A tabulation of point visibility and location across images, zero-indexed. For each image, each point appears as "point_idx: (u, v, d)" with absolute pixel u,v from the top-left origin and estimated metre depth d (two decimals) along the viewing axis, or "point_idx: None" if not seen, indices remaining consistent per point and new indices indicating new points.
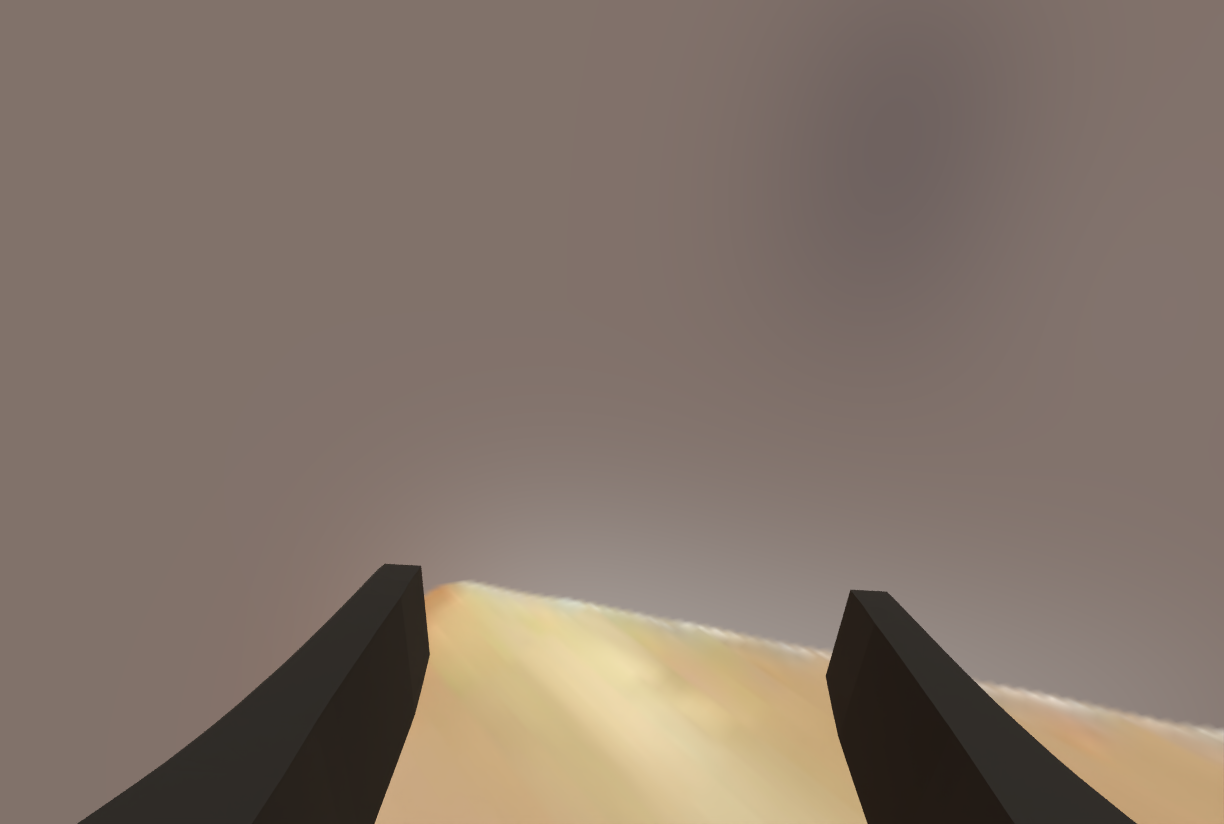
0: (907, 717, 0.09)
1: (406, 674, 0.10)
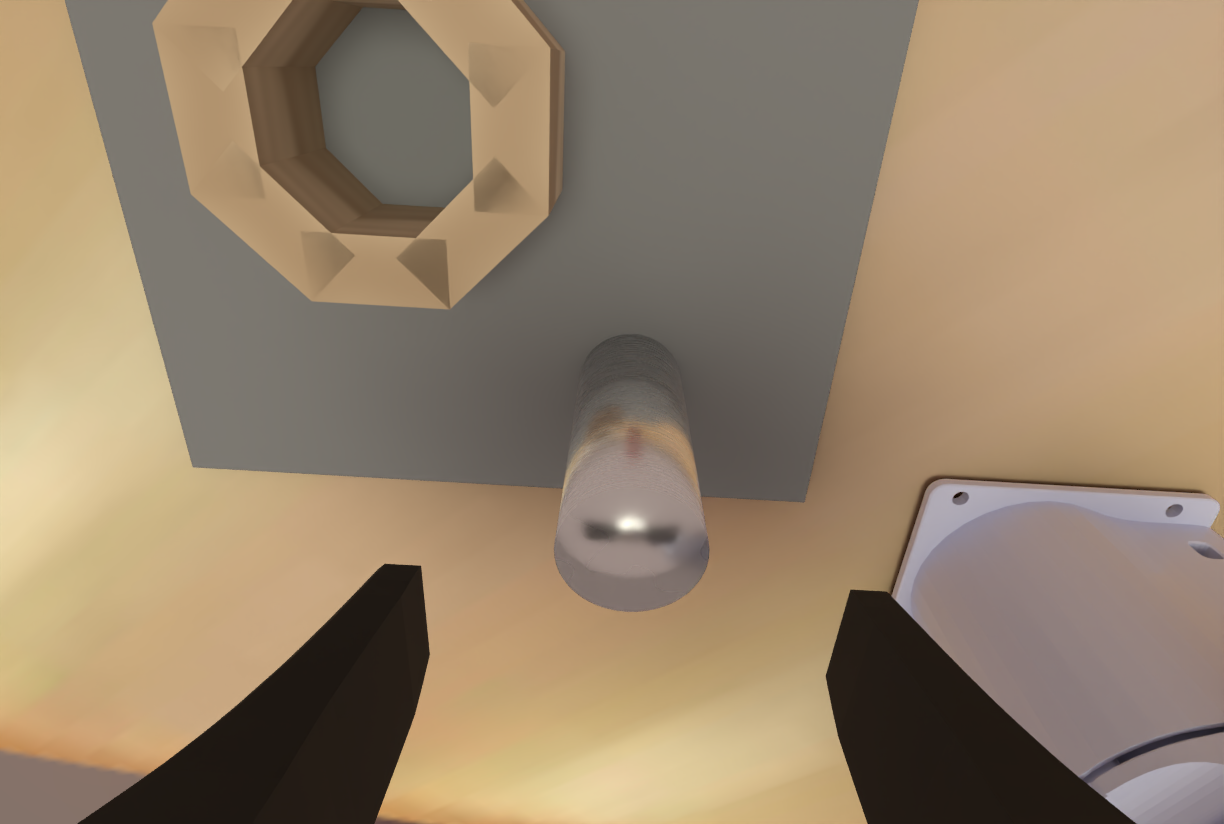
0: (907, 717, 0.09)
1: (406, 674, 0.10)
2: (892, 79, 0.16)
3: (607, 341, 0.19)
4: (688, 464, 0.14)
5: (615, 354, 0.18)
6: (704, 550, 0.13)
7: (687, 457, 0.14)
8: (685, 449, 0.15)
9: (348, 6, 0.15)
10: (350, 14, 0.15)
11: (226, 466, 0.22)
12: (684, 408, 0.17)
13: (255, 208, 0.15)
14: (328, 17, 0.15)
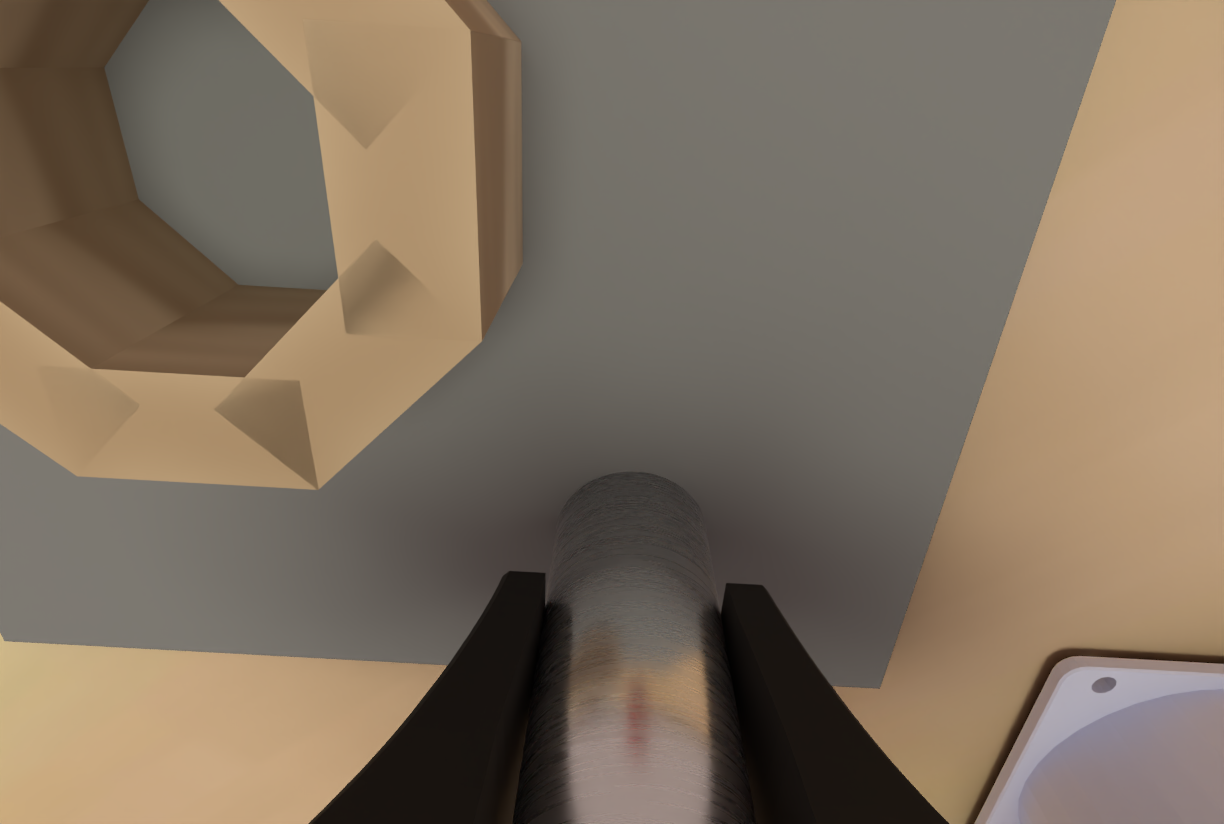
0: (756, 709, 0.09)
1: None
2: (1072, 88, 0.10)
3: (597, 484, 0.13)
4: (741, 809, 0.08)
5: (608, 517, 0.12)
6: None
7: (737, 785, 0.08)
8: (732, 761, 0.08)
9: None
10: None
11: (54, 638, 0.15)
12: (719, 622, 0.11)
13: None
14: None
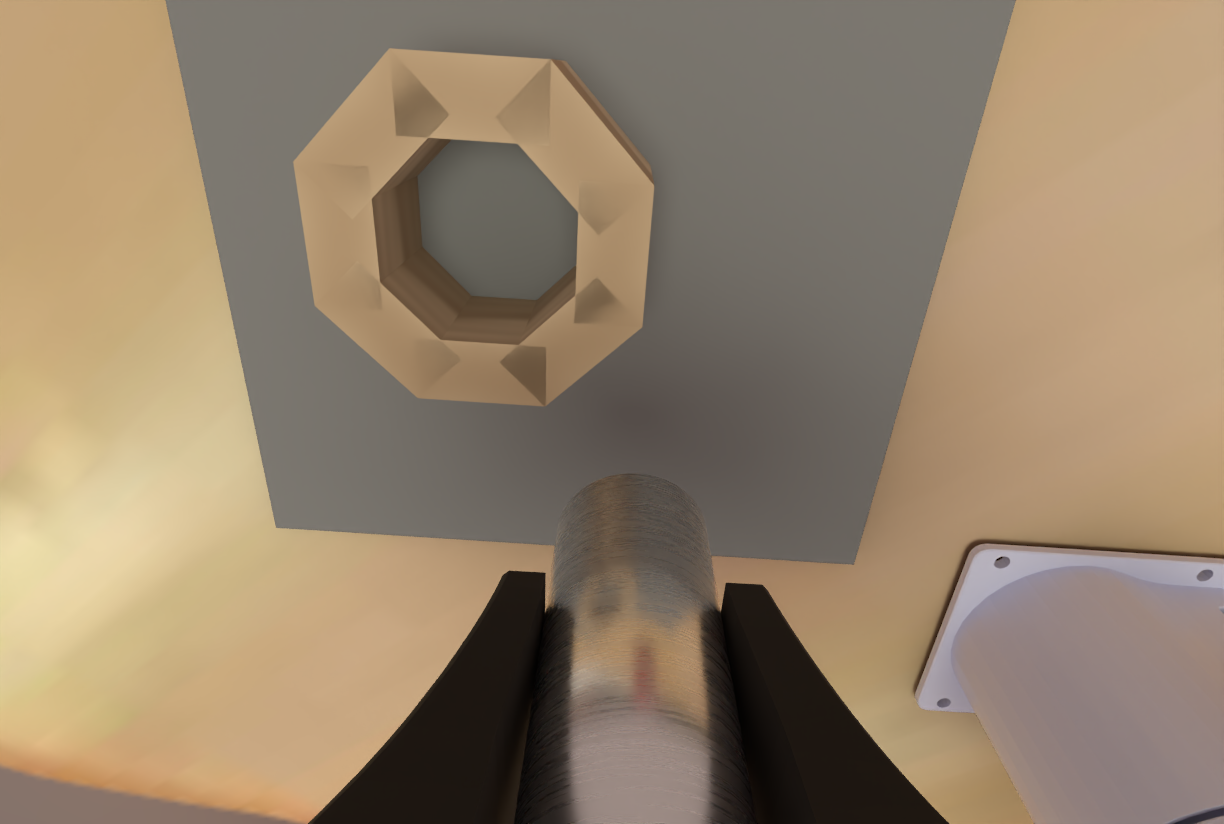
0: (755, 709, 0.09)
1: None
2: (953, 191, 0.17)
3: (597, 486, 0.13)
4: (741, 811, 0.08)
5: (608, 519, 0.12)
6: None
7: (737, 787, 0.08)
8: (732, 762, 0.08)
9: None
10: None
11: (307, 527, 0.23)
12: (720, 623, 0.11)
13: (373, 318, 0.16)
14: (440, 142, 0.16)
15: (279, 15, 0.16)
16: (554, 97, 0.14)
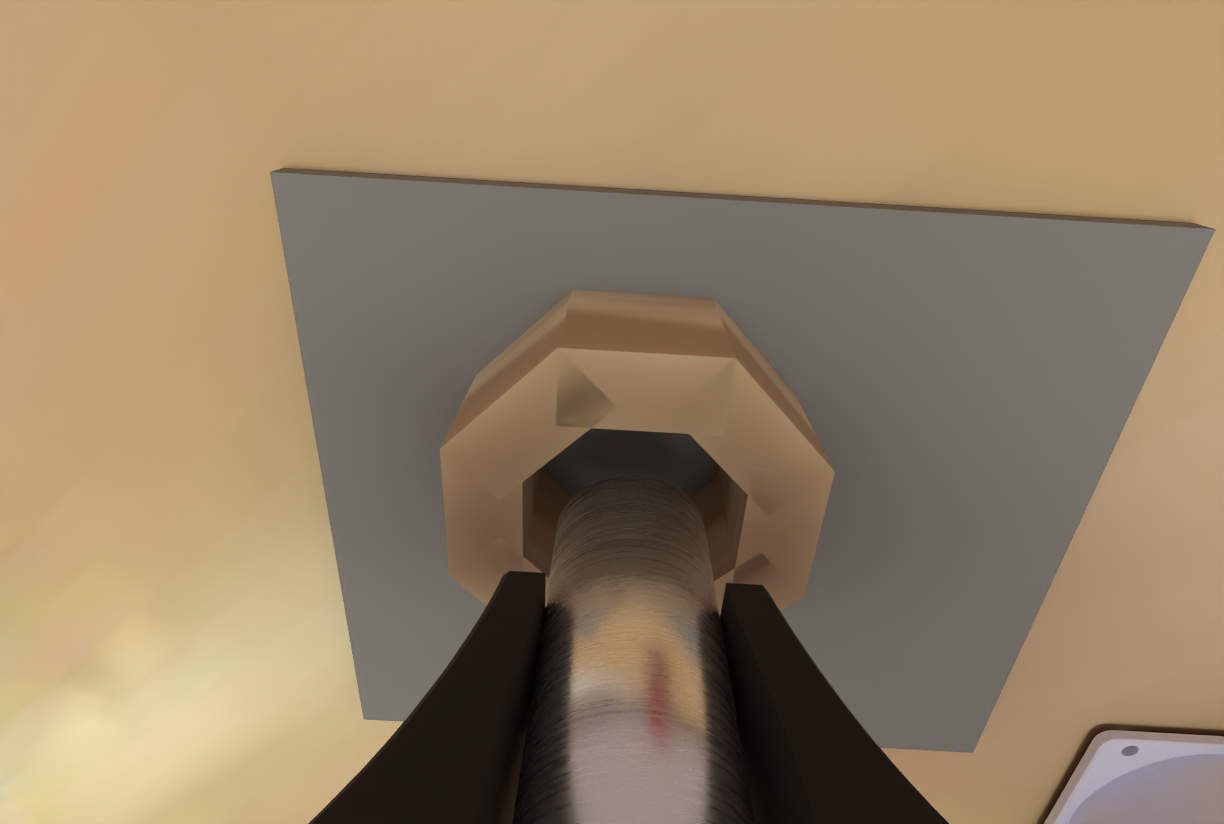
0: (755, 709, 0.09)
1: None
2: (1119, 419, 0.16)
3: (594, 489, 0.13)
4: (738, 812, 0.08)
5: (605, 521, 0.12)
6: None
7: (734, 788, 0.08)
8: (729, 764, 0.08)
9: None
10: None
11: (396, 717, 0.22)
12: (718, 624, 0.11)
13: None
14: None
15: (404, 254, 0.15)
16: (735, 392, 0.12)
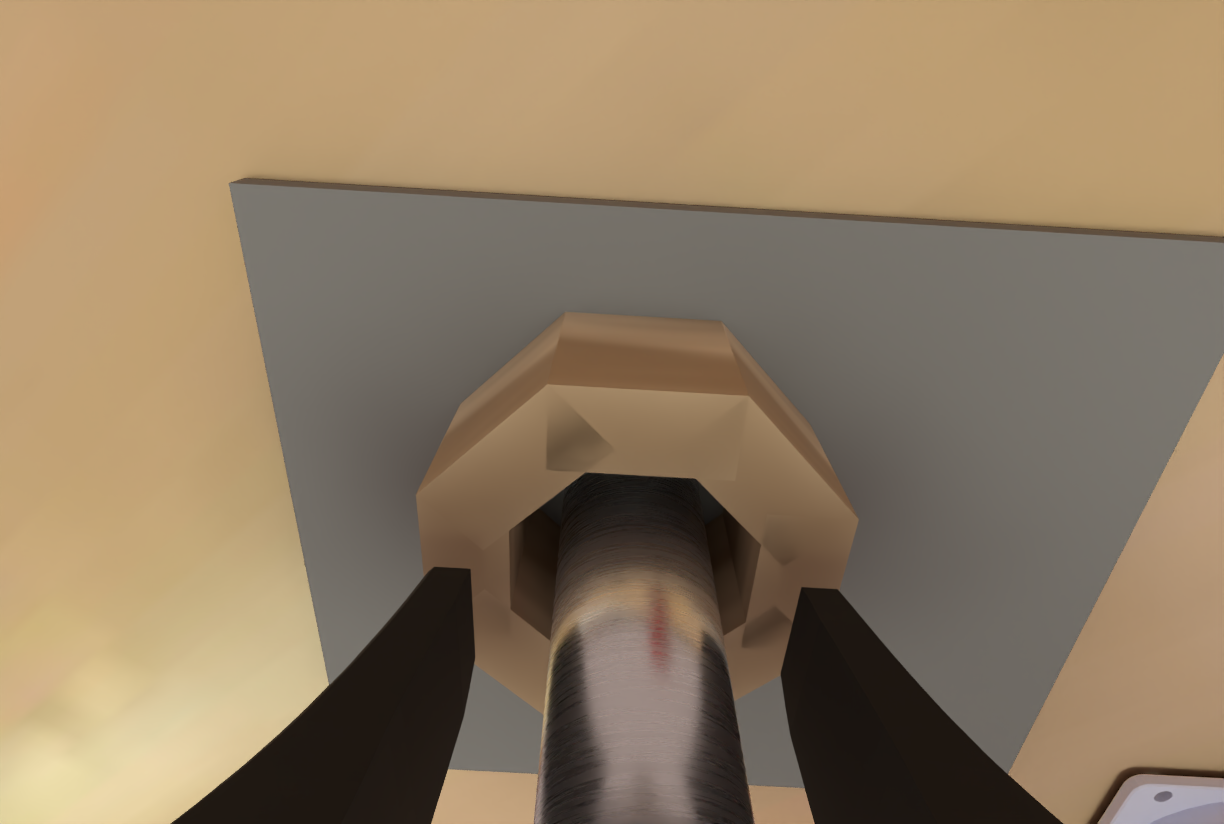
0: (847, 714, 0.09)
1: (458, 677, 0.10)
2: (1164, 451, 0.15)
3: None
4: (722, 702, 0.10)
5: None
6: None
7: (720, 684, 0.10)
8: (716, 666, 0.10)
9: None
10: None
11: None
12: (707, 556, 0.12)
13: (498, 642, 0.13)
14: None
15: (379, 274, 0.13)
16: (748, 433, 0.11)
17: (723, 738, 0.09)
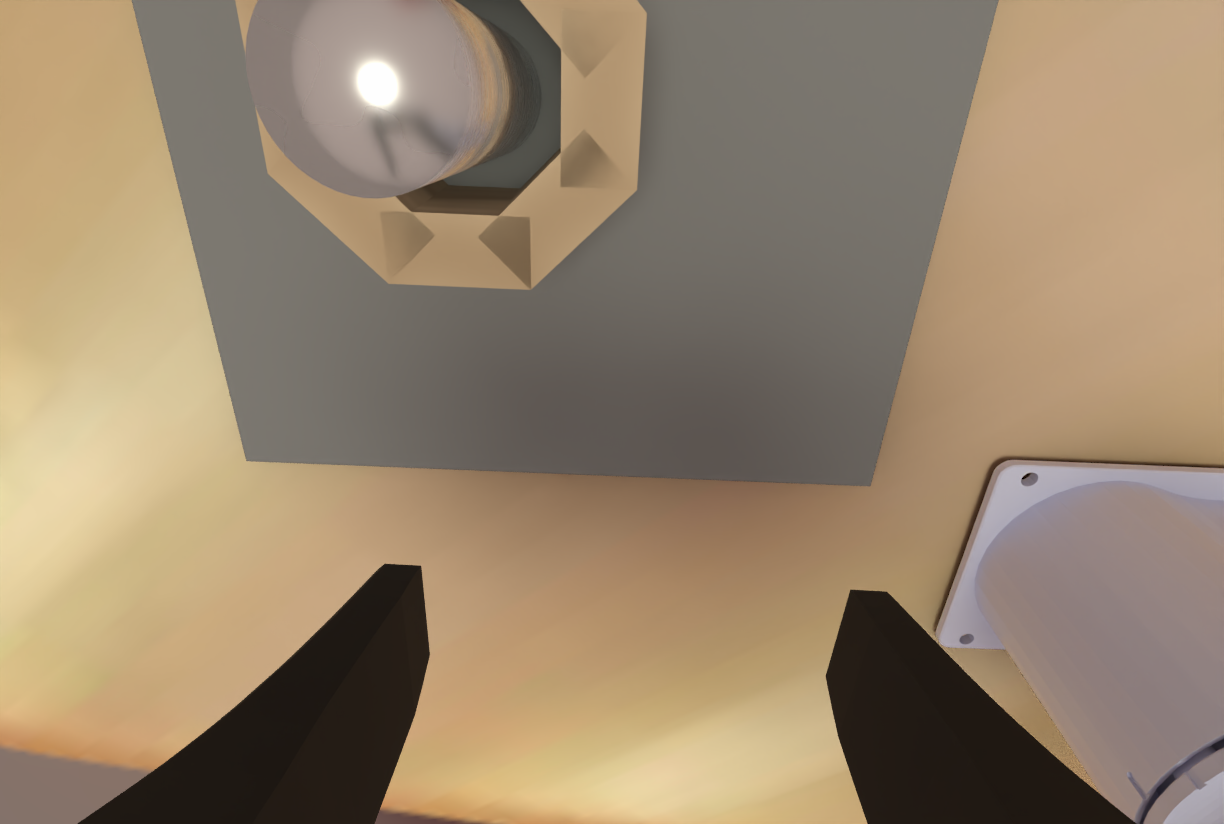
0: (907, 717, 0.09)
1: (406, 674, 0.10)
2: (978, 46, 0.16)
3: None
4: (465, 15, 0.10)
5: None
6: (459, 65, 0.09)
7: (470, 17, 0.11)
8: (472, 17, 0.11)
9: None
10: None
11: (280, 459, 0.21)
12: (512, 50, 0.13)
13: None
14: None
15: None
16: None
17: (450, 3, 0.10)
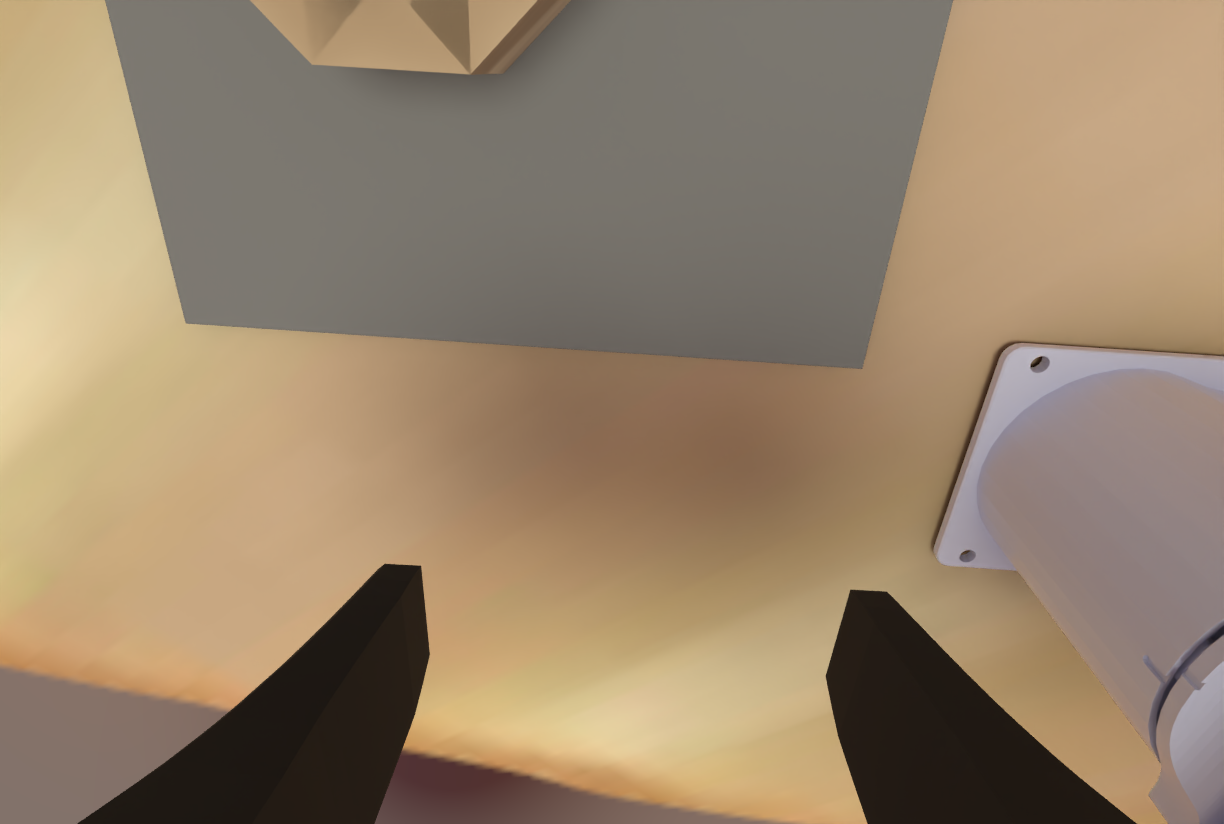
0: (907, 717, 0.09)
1: (406, 674, 0.10)
2: None
3: None
4: None
5: None
6: None
7: None
8: None
9: None
10: None
11: (222, 324, 0.20)
12: None
13: None
14: None
15: None
16: None
17: None
